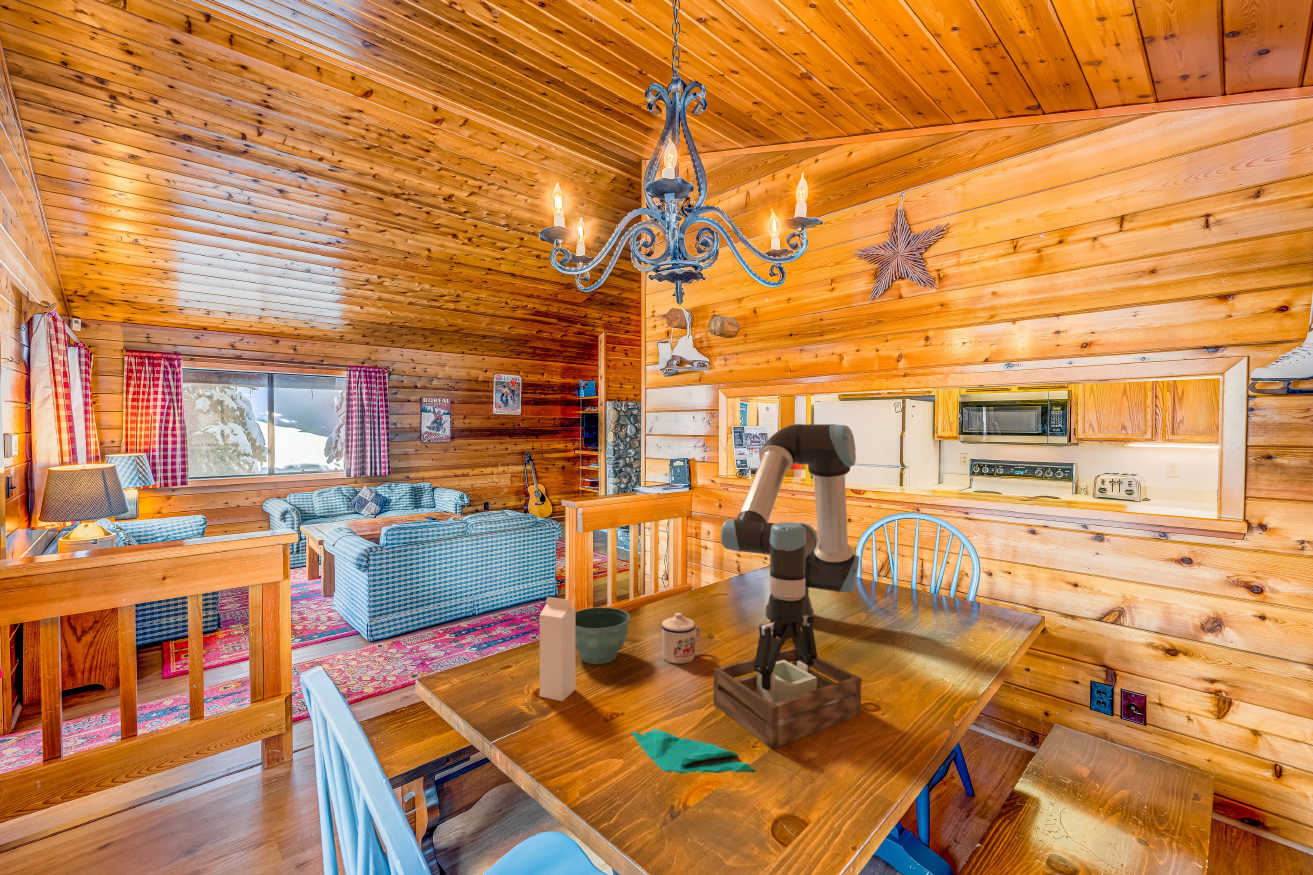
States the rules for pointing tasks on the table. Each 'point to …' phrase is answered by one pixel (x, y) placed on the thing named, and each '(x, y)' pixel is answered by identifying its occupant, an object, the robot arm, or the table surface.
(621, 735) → the table surface
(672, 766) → the cloth
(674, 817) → the table surface
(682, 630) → the teacup with lid
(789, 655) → the crate
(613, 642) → the flower pot
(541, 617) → the milk
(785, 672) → the small crate
